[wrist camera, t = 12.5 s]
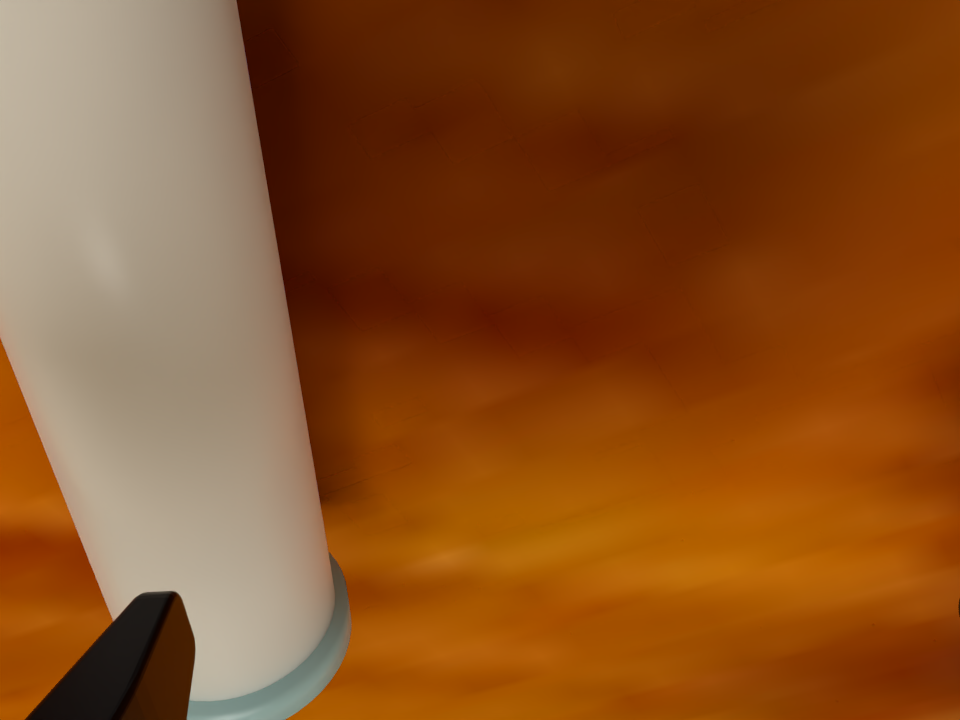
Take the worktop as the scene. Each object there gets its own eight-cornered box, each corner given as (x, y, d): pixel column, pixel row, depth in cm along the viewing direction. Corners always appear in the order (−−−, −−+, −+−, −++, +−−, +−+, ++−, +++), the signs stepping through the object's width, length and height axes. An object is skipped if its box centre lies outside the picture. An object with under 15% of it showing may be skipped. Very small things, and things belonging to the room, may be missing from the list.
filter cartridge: (256, -201, 14) (172, -179, 10) (358, 547, 24) (342, 733, 20) (-96, -194, 14) (-353, -169, 9) (155, 556, 24) (90, 746, 19)
